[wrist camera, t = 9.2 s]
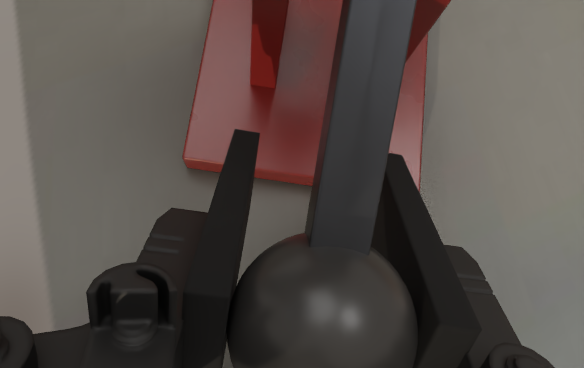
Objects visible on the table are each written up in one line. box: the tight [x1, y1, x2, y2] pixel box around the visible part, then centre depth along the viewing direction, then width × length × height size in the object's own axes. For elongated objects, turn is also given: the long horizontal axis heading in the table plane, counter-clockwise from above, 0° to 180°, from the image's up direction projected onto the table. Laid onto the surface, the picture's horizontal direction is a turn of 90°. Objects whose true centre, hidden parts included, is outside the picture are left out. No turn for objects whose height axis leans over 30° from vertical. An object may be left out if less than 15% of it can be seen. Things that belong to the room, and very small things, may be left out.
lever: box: [227, 0, 418, 368], centre depth 7 cm, size 14×4×4 cm, turn 173°
